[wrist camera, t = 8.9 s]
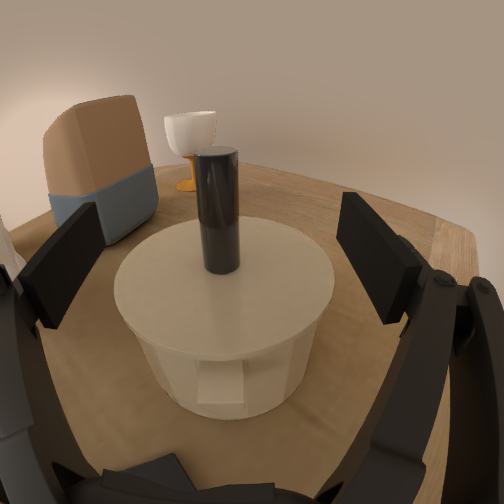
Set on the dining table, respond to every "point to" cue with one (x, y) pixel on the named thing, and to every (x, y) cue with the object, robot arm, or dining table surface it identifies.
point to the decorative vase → (9, 254)
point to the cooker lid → (223, 276)
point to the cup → (190, 138)
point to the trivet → (164, 473)
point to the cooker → (232, 379)
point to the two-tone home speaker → (101, 165)
